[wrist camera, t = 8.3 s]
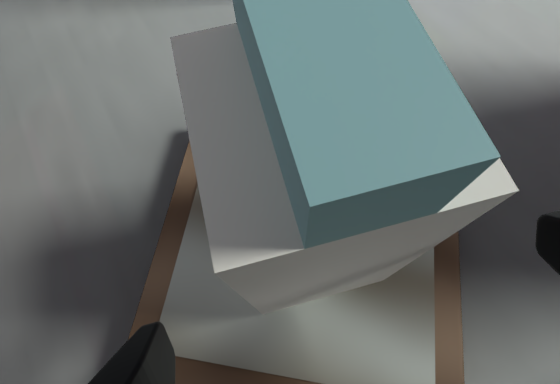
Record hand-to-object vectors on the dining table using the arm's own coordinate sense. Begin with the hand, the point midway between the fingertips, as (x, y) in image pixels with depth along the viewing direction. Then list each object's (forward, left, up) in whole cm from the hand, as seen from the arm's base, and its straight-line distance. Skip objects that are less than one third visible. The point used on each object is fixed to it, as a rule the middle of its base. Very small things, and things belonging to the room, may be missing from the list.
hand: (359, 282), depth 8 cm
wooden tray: (+3, +1, -10) cm, 11 cm away
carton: (+3, +1, -8) cm, 8 cm away
